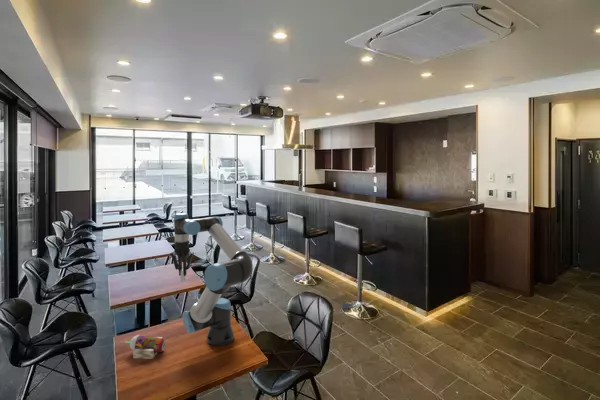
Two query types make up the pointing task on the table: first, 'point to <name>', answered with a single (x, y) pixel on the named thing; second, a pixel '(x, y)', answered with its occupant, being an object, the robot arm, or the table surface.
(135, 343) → the smoothie
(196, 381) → the table surface
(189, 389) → the table surface
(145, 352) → the rest
